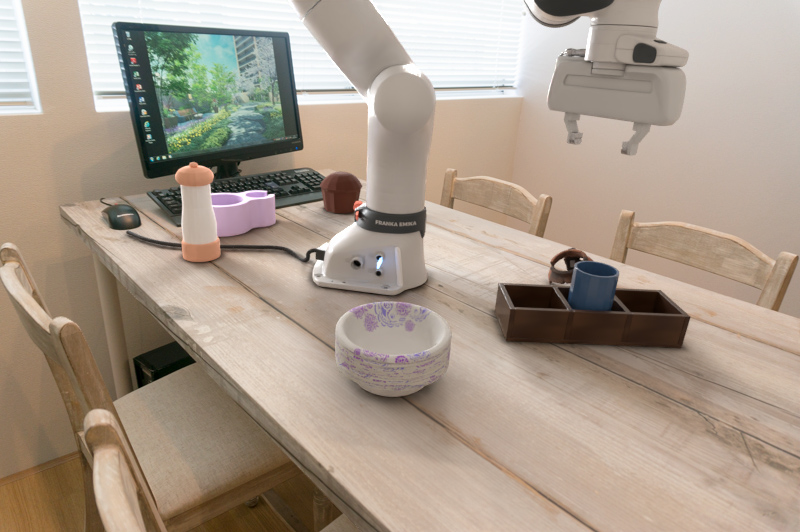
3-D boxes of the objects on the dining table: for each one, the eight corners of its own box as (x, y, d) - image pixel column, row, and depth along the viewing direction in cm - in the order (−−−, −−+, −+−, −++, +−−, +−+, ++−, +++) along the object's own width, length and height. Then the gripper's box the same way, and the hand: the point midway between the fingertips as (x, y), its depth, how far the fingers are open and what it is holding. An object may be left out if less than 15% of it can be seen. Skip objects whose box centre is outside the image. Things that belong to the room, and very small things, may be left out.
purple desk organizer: (259, 213, 138) (258, 187, 135) (284, 226, 129) (283, 198, 127) (182, 226, 125) (179, 197, 122) (204, 241, 117) (201, 210, 114)
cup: (571, 333, 85) (582, 276, 81) (558, 313, 91) (569, 259, 87) (613, 335, 85) (626, 278, 81) (597, 315, 91) (609, 261, 87)
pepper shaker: (191, 264, 104) (181, 168, 97) (177, 253, 109) (167, 160, 102) (226, 257, 108) (219, 164, 101) (211, 247, 113) (204, 157, 106)
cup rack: (505, 341, 83) (510, 309, 81) (494, 312, 92) (498, 282, 90) (681, 348, 84) (690, 316, 82) (653, 318, 93) (660, 289, 91)
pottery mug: (608, 299, 101) (598, 267, 96) (558, 312, 104) (546, 281, 99) (594, 261, 110) (585, 231, 106) (549, 275, 113) (538, 245, 109)
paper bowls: (356, 423, 63) (358, 366, 60) (321, 357, 75) (321, 308, 72) (467, 398, 69) (474, 344, 66) (417, 340, 81) (421, 294, 78)
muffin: (343, 217, 138) (343, 179, 134) (311, 209, 144) (310, 172, 140) (369, 208, 148) (371, 172, 144) (339, 201, 153) (339, 166, 149)
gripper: (545, 46, 80) (532, 139, 85) (677, 51, 65) (651, 163, 70) (571, 48, 84) (557, 137, 89) (701, 53, 69) (675, 159, 74)
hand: (599, 149), depth 80 cm, fingers open, 8 cm apart
